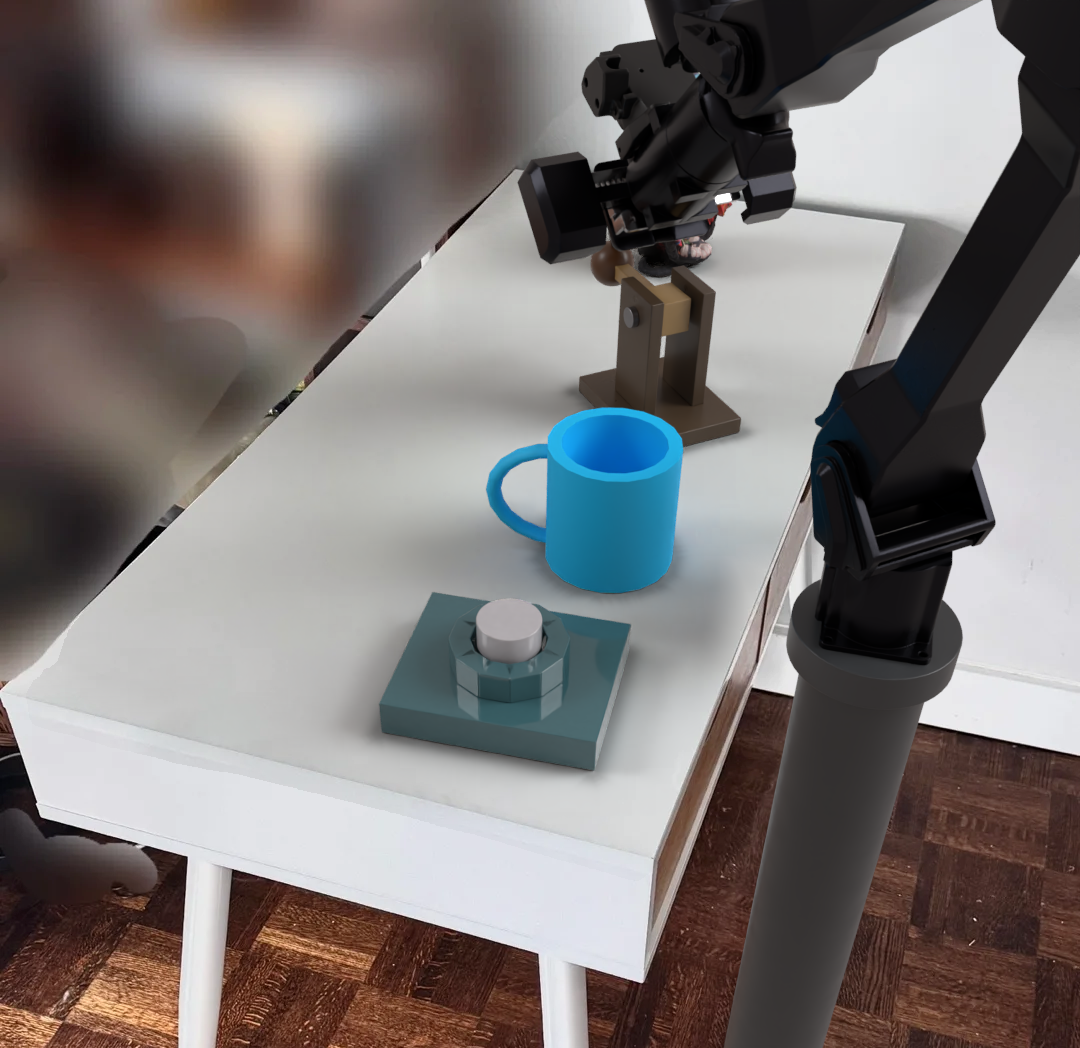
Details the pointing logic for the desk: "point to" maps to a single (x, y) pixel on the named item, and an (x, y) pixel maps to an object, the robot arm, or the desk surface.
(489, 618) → the flush button
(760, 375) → the desk surface
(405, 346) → the desk surface
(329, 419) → the desk surface
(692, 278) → the lever bracket
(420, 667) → the block
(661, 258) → the figurine
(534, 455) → the mug
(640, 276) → the flush lever
